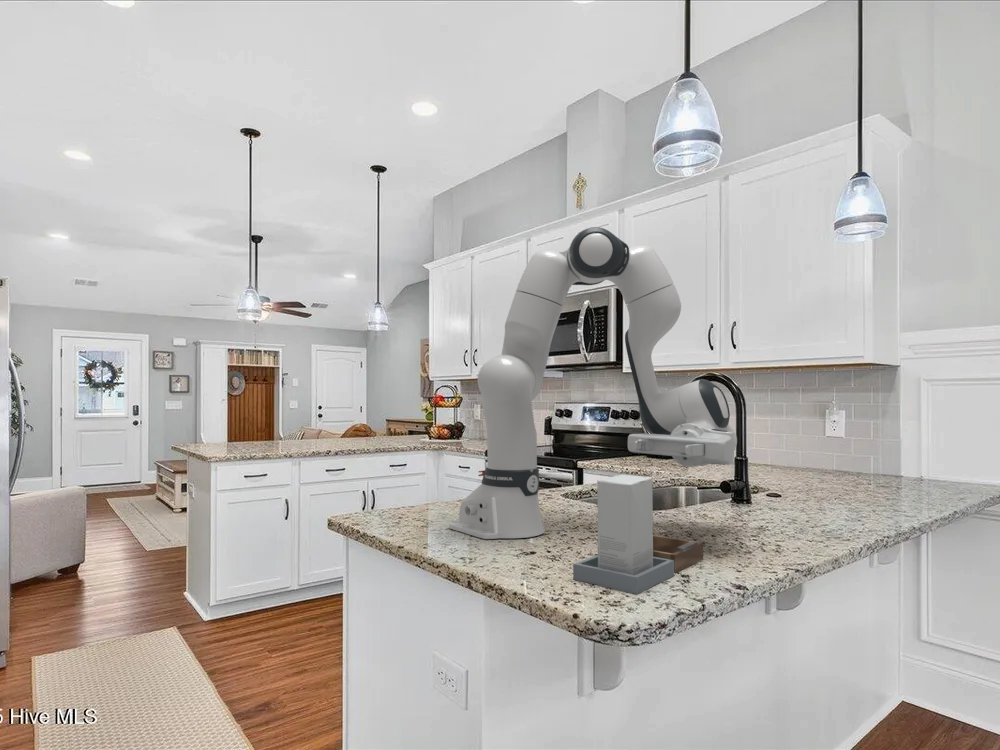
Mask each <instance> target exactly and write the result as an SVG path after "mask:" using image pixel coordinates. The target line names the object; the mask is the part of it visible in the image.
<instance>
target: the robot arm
mask: <svg viewBox="0 0 1000 750" xmlns="http://www.w3.org/2000/svg"><path fill="white" fill-rule="evenodd" d="M605 281H609V282H612V283H613V284H614V285H615V286H616V288H618V290H619V292H620V293H621V295H622V299H623V301H624V303H625V305H626V308H627V311H628V317H629V319H628V320H629V322H628V323H629V326H628V329H627V331H626V332H625V334H624V342H625V350H626V353H627V354H626V355H627V357H628V358H627V359H628V363H629V366H630V367H629V368H630V371H631V375H632V378H633V379H632V380H633V383H634V387H635V392H636V394H637V400H638V410H639V416H640V421H641V423H642V426H643V428H644V430H645V431H647V432H648V433H629V435H628V436H627V449H628V451H629V452H631V453H638V454H639V453H640V454H646V455H647V454H648V455H658V456H667V457H669V456H670V457H672V459H674V461H675V462H676V463H678V464H679V465H682V466H684V467H688V468H692V467H699V466H700V467H702V466H708V465H720V466H722V465H723V466H724V465H725V466H729V465H733V464H734V460H735V459H734V458H735V450H736V449H737V444H738V437H737V434H736V432H735V430H734V429H733V428H732V426H731V425H730V424H729V422H730V416H731V415H730V406H729V404H728V400H727V398H726V396H725V393H724V392H723V391H722V390H721V388H720V387H718V386H717V385H716V384H714V382H711V381H710V380H709V379H704V378H701V379H697V380H694V381H692V382H688V383H685V384H683V385H681V386H678V387H675V388H672V389H669V390H665V391H661V390H660V388H659V385H658V381H657V377H656V373H655V367H654V364H653V360H652V355H653V354H652V352H653V350H654V348H655V346H656V345H657V344H658V343H659V341H660V340H661V339H663V337H664V336H665V335H667V334H668V333H669V331H671V330H672V328H673V327H675V325H676V323H677V321H678V320H679V317H680V315H681V311H682V302H681V299H680V295H679V293H678V290H677V288H676V285H675V284H674V281H673V279H672V277H671V275H670V273H669V271H668V269H667V268H666V266H665V264H664V262H663V261H662V260H661V257H660V256H659V255H658V253H657V251H656V250H655V249H654V248H652V247H651V246H649V245H643V244H642V245H633V246H631V247H629V246H628V244H627V243H626V242H624V241H623V240H622V239H620V238H619V237H617V236H616V235H615V234H613V233H612V232H611V231H609V230H608V229H605V228H604V227H598V226H594V227H592V226H591V227H587V228H585V229H583V230H581V231H580V232H578V233H577V234H576V235H575V237H574V238H573V239H572V241H571V243H570V246H569V247H568V248H567V249H566V250H564V251H557V250H554V249H541V250H538V251H535V253H534V254H533V255H532V256H531V258H530V259H529V261H528V263H527V265H526V266H525V269H524V271H523V273H522V275H521V276H520V279H519V282H518V284H517V287H516V290H515V294H514V296H513V299H512V302H511V305H510V309H509V311H508V314H507V317H506V320H505V323H504V337H503V344H502V349H501V355H497V356H494V357H492V358H490V359H488V360H487V361H486V362H485V363H484V364H482V366H481V367H480V369H479V372H478V375H477V386H478V387H477V388H478V390H479V392H480V395H481V403H482V407H483V408H482V409H483V415H484V420H485V428H486V438H487V441H486V442H487V443H486V445H487V447H486V448H487V451H486V452H487V467H486V468H485V470H478V471H477V472H478V473H480V474H478V477H482V479H481V484H480V485H478V487H477V488H475V489H474V490H473V491H472V492H471V493H470V494H469V495H468V496H466V497H465V498H463V500H462V501H461V503H460V507H459V513H458V515H459V516H458V519H456V520H454V521H451V522H450V523H448V528H449V530H450V529H451V530H454V531H457V532H460V533H462V534H467V535H471V536H473V537H477V538H480V539H482V540H483V539H484V540H493V539H494V540H495V539H523V538H532V537H536V536H540V535H542V534H544V533H546V530H545V526H544V523H543V519H542V518H543V517H542V515H541V514H542V513H541V509H540V508H541V507H540V502H539V501H540V500H539V487H540V469H539V468H538V460H537V459H538V457H537V456H538V455H537V453H538V449H537V448H538V444H537V441H538V439H537V437H538V435H537V434H538V433H537V430H536V425H535V420H534V412H533V405H532V402H533V401H534V399H536V398H537V396H538V395H539V394H540V392H541V389H542V385H543V380H544V376H545V371H546V368H547V364H548V358H549V354H550V350H551V349H550V348H551V344H552V340H553V337H554V333H555V330H556V328H557V325H558V323H559V320H560V317H561V313H562V311H563V307H564V305H565V300H566V299H567V296H568V293H569V291H570V289H571V287H572V286H594V285H598V284H600V283H601V284H602V283H603V282H605Z"/></svg>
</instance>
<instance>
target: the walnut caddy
mask: <svg viewBox="0 0 1000 750" xmlns="http://www.w3.org/2000/svg"><path fill="white" fill-rule="evenodd" d="M653 557H658V558H664V559H669V560H674V574H676V573H678V572H681V571H682V570H684V569H687V568H689V567H691V566H692V565H694V564H696V563H699V562H701V561H703V560H704V542H701V541H694V540H689V539H683V538H675V537H670V536H669V537H668V536H663V535H657V534H653Z"/></svg>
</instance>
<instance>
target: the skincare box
mask: <svg viewBox="0 0 1000 750" xmlns="http://www.w3.org/2000/svg"><path fill="white" fill-rule="evenodd" d="M596 480H597V479H596ZM653 480H654V479H653V477H652V476H645V475H644V476H642V475H641V476H639V475H632V474H631V475H629V474H618V475H613V476H609V477H606V478H601V479H598V480H597V484H596V485H597V555H598V568H602V569H607V570H612V571H617V572H621V573H626V574H631V575H637V574H639V573H641V572H643V571H645V570H648V569H650V568H652V567H653V535H654V526H653V525H654V523H653V520H654V517H653V515H654V514H653V511H654V510H653V509H654V508H653V507H654V506H653V502H654V501H653Z"/></svg>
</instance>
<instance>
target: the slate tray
mask: <svg viewBox="0 0 1000 750" xmlns="http://www.w3.org/2000/svg"><path fill="white" fill-rule="evenodd" d="M572 571H573V573H572V578H573V580H574V581H578V582H583V583H588V584H591V585H595V586H596V585H597V586H601V587H605V588H607V589H611V590H612V589H613V590H617V591H622V592H626V593H629V594H634V595H639V594H641V593H643V592H645V591H647V590H649V589H650V588H653V587H654V586H657V585H659V584H661V583H662V582H664V581H666V580H669V579H670V578H673V577H675V573H674V560H669V559H664V558H658V557H653V567H652V568H650V569H648V570H645V571H643V572H641V573H639V574H637V575H631V574H626V573H621V572H617V571H612V570H607V569H602V568H598V554H596V555H595V556H591V557H588V558H586V559H583V560H580V561H577V562H574V563H573V564H572Z"/></svg>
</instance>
